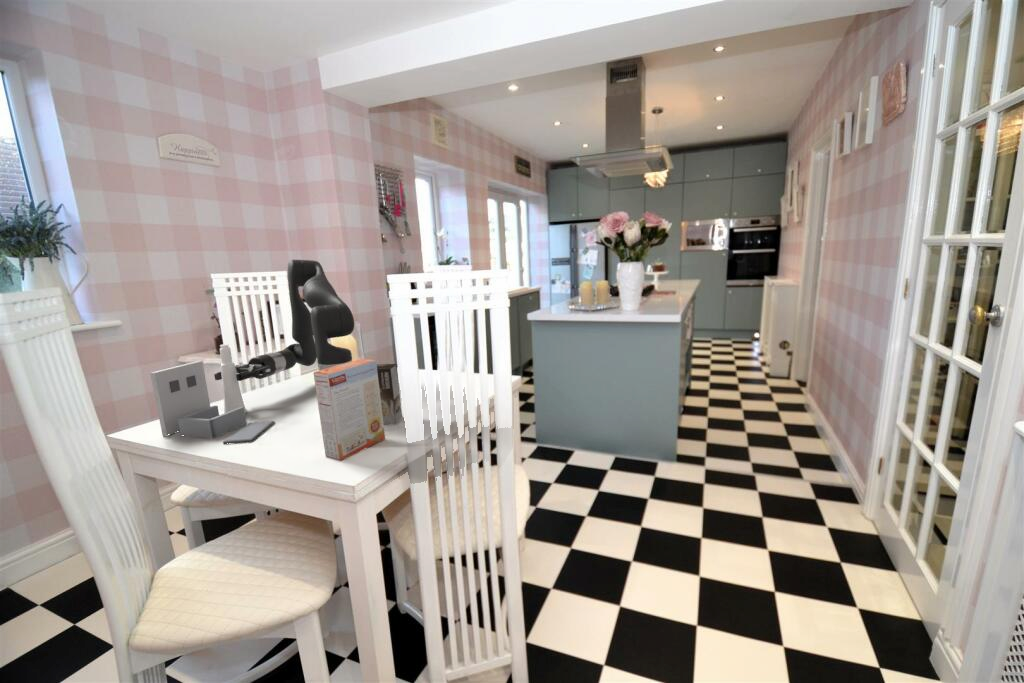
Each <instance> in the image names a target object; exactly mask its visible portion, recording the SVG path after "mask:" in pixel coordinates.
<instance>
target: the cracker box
mask: <svg viewBox="0 0 1024 683" xmlns="http://www.w3.org/2000/svg"><path fill="white" fill-rule="evenodd" d="M313 379H314V385H315V386H314V387H315V392H316V400H317V406H318V407H317V408H318V413H319V420H320V426H321V434H322V441H323V448H324V455H325V457H326V458H331V459H332V460H333V459H334V460H338V461H340V460H341V461H342V460H346V459H348V458H349V457H351V456H354V455H355V454H357V453H359V452H361V451H364V450H365V449H367V448H370V447H371V446H373V445H375V444H377V443H380V442H382V441H384V440H385V439H386V434H385V425H384V424H383V415H382V406H381V398H380V389H379V381H378V372H377V360H375V359H366V358H360V359H356V360H352V362H348V363H345V364H341V365H338V366H334V367H330V368H327V369H323V370H316V371H314V372H313Z"/></svg>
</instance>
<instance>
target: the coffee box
mask: <svg viewBox="0 0 1024 683" xmlns="http://www.w3.org/2000/svg"><path fill="white" fill-rule="evenodd" d="M376 364H377V363H376ZM397 365H398V364H397V363H384V364H383V363H381V364H377V372H378V381H379V389H380V398H381V406H382V415H383V424H384V426H385V425H398V424H399V422H400V421H401V420H402V419H403V412H402V411H403V410H402V402H401V393H400V384H399V381H400V380H399V373H398V366H397Z"/></svg>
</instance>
